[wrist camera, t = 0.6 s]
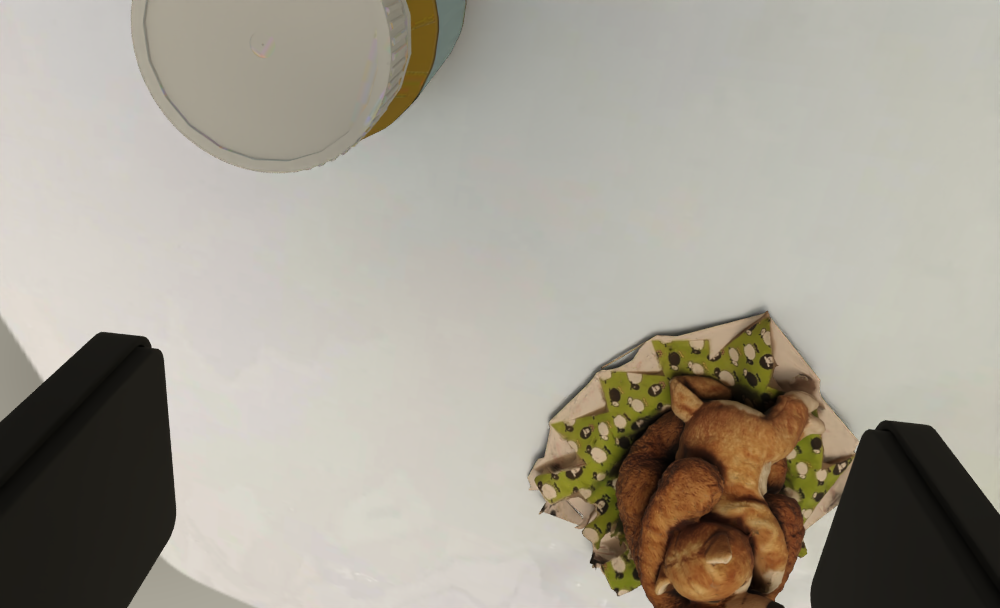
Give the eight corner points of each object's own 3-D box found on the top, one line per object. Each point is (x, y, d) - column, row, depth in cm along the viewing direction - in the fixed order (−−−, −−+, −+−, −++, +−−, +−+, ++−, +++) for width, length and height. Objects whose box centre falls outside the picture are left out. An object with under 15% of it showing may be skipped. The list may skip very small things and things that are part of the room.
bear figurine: (905, 455, 40) (1040, 656, 29) (662, 607, 45) (699, 829, 34) (732, 262, 37) (812, 410, 26) (488, 451, 42) (467, 643, 30)
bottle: (347, 113, 35) (219, 235, 21) (258, -51, 32) (48, -32, 19) (497, 39, 33) (463, 119, 20) (416, -139, 31) (312, -189, 17)
